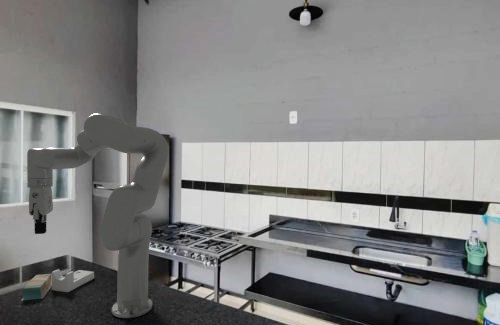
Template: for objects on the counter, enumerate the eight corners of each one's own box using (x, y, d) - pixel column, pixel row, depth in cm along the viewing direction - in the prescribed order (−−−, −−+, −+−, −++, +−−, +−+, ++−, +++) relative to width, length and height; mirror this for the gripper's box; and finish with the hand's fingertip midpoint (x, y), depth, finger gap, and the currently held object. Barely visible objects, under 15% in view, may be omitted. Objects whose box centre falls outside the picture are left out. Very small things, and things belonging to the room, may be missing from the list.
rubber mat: (42, 299, 105) (42, 298, 105) (20, 302, 103) (20, 300, 103) (58, 278, 123) (58, 276, 123) (40, 279, 121) (40, 278, 121)
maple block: (51, 284, 116) (40, 298, 105) (36, 285, 114) (23, 300, 103) (51, 273, 116) (40, 287, 104) (36, 275, 114) (23, 288, 103)
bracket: (67, 294, 110) (68, 274, 109) (51, 292, 111) (51, 271, 111) (94, 280, 122) (94, 262, 122) (79, 278, 124) (79, 260, 124)
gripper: (45, 184, 103) (45, 237, 104) (58, 180, 118) (58, 227, 118) (19, 184, 101) (19, 239, 102) (35, 181, 115) (36, 229, 116)
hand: (40, 233), depth 110 cm, fingers closed
